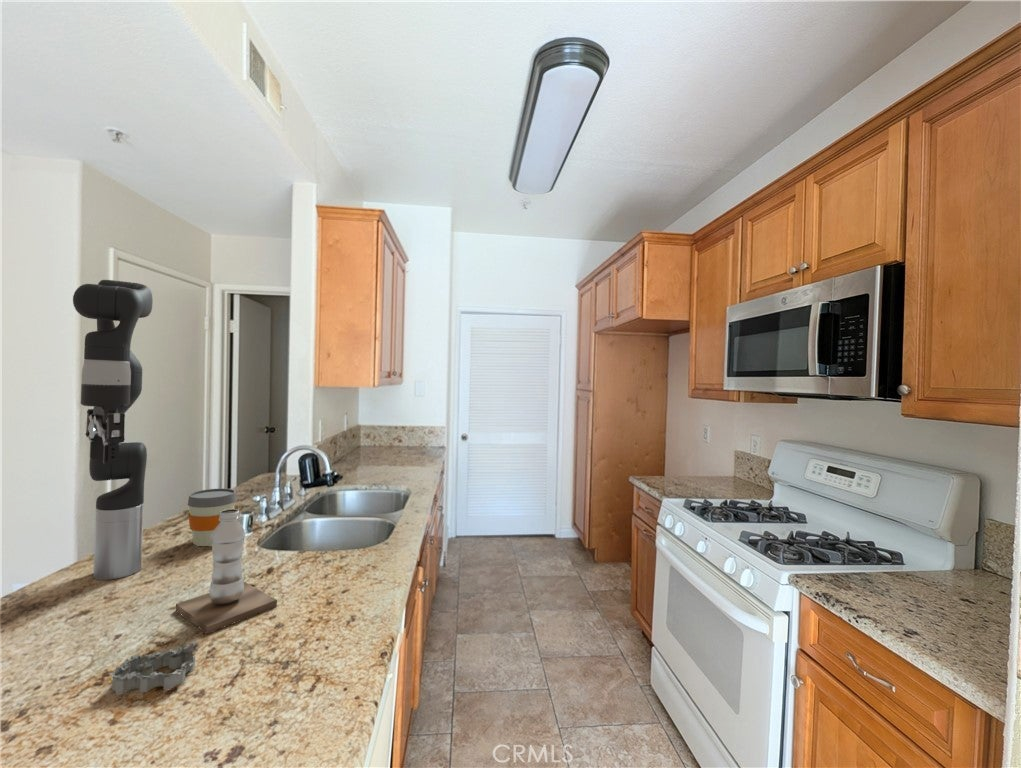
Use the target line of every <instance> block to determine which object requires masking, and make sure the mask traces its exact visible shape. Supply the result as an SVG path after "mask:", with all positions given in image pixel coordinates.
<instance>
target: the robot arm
mask: <svg viewBox="0 0 1021 768" xmlns="http://www.w3.org/2000/svg"><path fill="white" fill-rule="evenodd" d="M153 302H154V301H153V292H152V290H151V289H150V287H148V286H147V285H145V284H142V283H137V282H131V281H121V280H111V279H102V280H100V281H99V282H98V283H97V284H96V283H95V284H94V283H85V284H84V283H83V284H81V285H79V287H77V288H76V289H75V291H74V293H73V295H72V305H73V307H74V309H75V310H76V312H77V313H78V314H79V315H81V316H82V317H84V318H86V319H90V320H91V319H92V320H96V330H95V331H89V332H88V333H86V335H85V336H84V347H83V348H84V352H83V353H84V355H83V365H82V369H81V383H80V385H81V386H80V387H81V388H80V404H81V405H82V406H84V407H93V408H88V409H87V410H86V428H85V430H86V431H85V436H86V438H87V439H88V441H89V462H88V463H89V475H90V478H91V480H93V481H95V482H103V481H114V480H115V481H116V480H126V479H128V481H127V482H126V483H125V484H123V485H121V486H120V487H117V488H115V489H113V490H111V491H107V492H105V493H103V494H101V495H99V496H98V497H97V498H96V500H95V501H96V502H95V522H94V525H95V526H94V547H93V550H94V551H93V552H94V553H93V573H92V574H93V579H95V580H98V581H99V580H101V581H102V580H104V581H106V580H107V581H109V580H114V579H121V578H125V577H128V576H131V575H134V574H136V573H138V572H139V571H140V570H141V569H142V557H143V536H144V535H143V532H144V531H143V527H144V507H145V505H144V504H145V503H144V501H145V498H144V497H145V477H146V470H147V469H146V468H147V460H148V459H147V458H148V454H147V452H148V451H147V447H146V444H144V442H142V441H141V442H138V441H136V442H132V441H131V442H125V439H126V438H125V427H126V425H125V419H126V415H125V413H126V412H128V410H129V409H130V408H131V407H132V406H133V405H134V403H135V402H136V401H137V400H138V399H139V397H140V395H141V394H142V388H143V366H142V364H141V362H140V360H139V359H138V358H137V356H136V355H135V354H134V353H133V351H132V350H131V343H132V337H133V333H134V330H135V328H136V325H137V323H138V321H139V319H142V318H143V319H144V318H147V317H149V316H150V315H151V313H152V310H153ZM115 322H119V323H118V325H117V326H116V325H115ZM133 573H134V574H133Z"/></svg>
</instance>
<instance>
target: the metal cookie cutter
mask: <svg viewBox="0 0 1021 768" xmlns="http://www.w3.org/2000/svg"><path fill="white" fill-rule="evenodd" d="M198 648H199V644H198V643H195V644H194V643H190V644H189V643H188V644H184V645H179V648H177V649H174V648H170V649H168V651H163V652H162V651H156V652H153V653H150V654H145V655H143V656H141V655H140V654H137V655H135V654H134V655H131V657H130V659H129V658H126V659H125V660H124V662H122V663H121V664H120V665H119V666H116V668H115V669H114V670H113V671H112V672H109V673H108V675H110V676H112V691H115V695H123V694H125V693H126V692H128V691H130V690H133V689H139V693H147V692H149V691H150V690H152V689H153V688H157V686H158V687H163V691H168V690H167V689H170V690H172V689H173V688H175V687H177V686H179V685H178V684H180V685H182V684H184V683H185V682H186V674H187V673H189V672H188V671H191V670H193V668H194V667H195V668H196V656H195V653H196V652H197V650H198ZM163 667H168V668H169V669H170V670H175V671H173V672H168V673H164V672H160V671H159V672H158V673H157V670H159V669H161V668H163ZM179 667H180V668H179ZM176 668H177V669H176ZM195 668H194V669H195ZM193 671H194V670H193ZM186 672H187V673H186ZM191 672H192V671H191ZM176 685H177V686H176ZM174 686H175V687H174ZM172 687H173V688H172ZM171 688H172V689H171Z"/></svg>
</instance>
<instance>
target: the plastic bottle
mask: <svg viewBox="0 0 1021 768" xmlns="http://www.w3.org/2000/svg"><path fill="white" fill-rule="evenodd" d="M239 520H240V510H239V509H236V508H235V509H228V510H223V511H221V512H220V517H219V521H220V524H219V525H218V526H217V527H216V528H215V530H214V531H213V533H212V536H211V544H212V546H211V552H212V565H213V566H212V574H211V575H212V576H211V582H210V585H209V589H208V593H209V596H210V600H211V601H212V602H213V603H214V604H228V603H232V602H234V601H236V600H238V599H239V598H240V597H241V595H242V594H243V589H244V582H245V581H244V578H243V570H242V568H243V567H242V559H243V558H242V557H243V549H244V544H245V537H246V530H245V528H244V527H243V525H242V524H241V523H240V522H239ZM243 581H244V582H243Z"/></svg>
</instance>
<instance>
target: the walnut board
mask: <svg viewBox="0 0 1021 768" xmlns="http://www.w3.org/2000/svg"><path fill="white" fill-rule="evenodd" d="M243 582H244V589H243V594H242V595H241V597H240V598H239V599H238V600H236V601H234V602H232V603H228V604H214V603H213V602H212V601H211V600H210V596H209V592H207V593H204V594H201V595H198V596H196V597H192V598H189V599H187V600H184V601H181V602H177V603H175V612H177V611H178V612H179V613H180V615H181V614H182V615H183V616H184V617H183V616H182V615H181V616H182V617H183V618H185V617H186V618H187V619H189V620H190V621H192V622H193V623H194V624H196V625H197V626H198V627H200V628H201V629H202V630H203V631H204V632H203V631H202V630H201V629H200V630H201V631H202V632H203V633H205V632H206V633H209V634H211V633H210V632H212V631H214V632H216V631H215V630H217V629H219V628H222V627H224V626H227V625H229V624H232V623H234V622H237V621H239V620H242V621H244V620H246V619H248V618H247V617H249V618H251V617H254V616H257V615H259V614H261V613H264V612H266V611H268V610H271V609H274V608H276V607H277V606H278V604H277V603H278V600H277V598H274V597H273V596H271V595H269V594H267V593H266V592H264V591H262V590H260V589H259V588H257V587H256V586H255V587H254V586H253V585H251V584H249V583H247V582H245V581H244V580H243ZM178 612H177V613H178ZM179 613H178V614H179ZM258 613H259V614H258ZM253 615H254V616H253ZM186 618H185V619H186ZM245 618H246V619H245ZM187 619H186V620H187ZM243 619H244V620H243ZM189 620H188V621H189ZM190 621H189V622H190ZM239 622H240V621H239ZM193 623H192V624H193ZM237 623H238V622H237ZM194 624H193V625H194ZM234 624H235V623H234ZM232 625H233V624H232ZM197 626H196V627H197ZM229 626H230V625H229ZM198 627H197V628H198ZM227 627H228V626H227ZM224 628H225V627H224ZM222 629H223V628H222ZM219 630H220V629H219ZM217 631H218V630H217ZM206 633H205V634H206ZM212 633H213V632H212Z"/></svg>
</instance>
